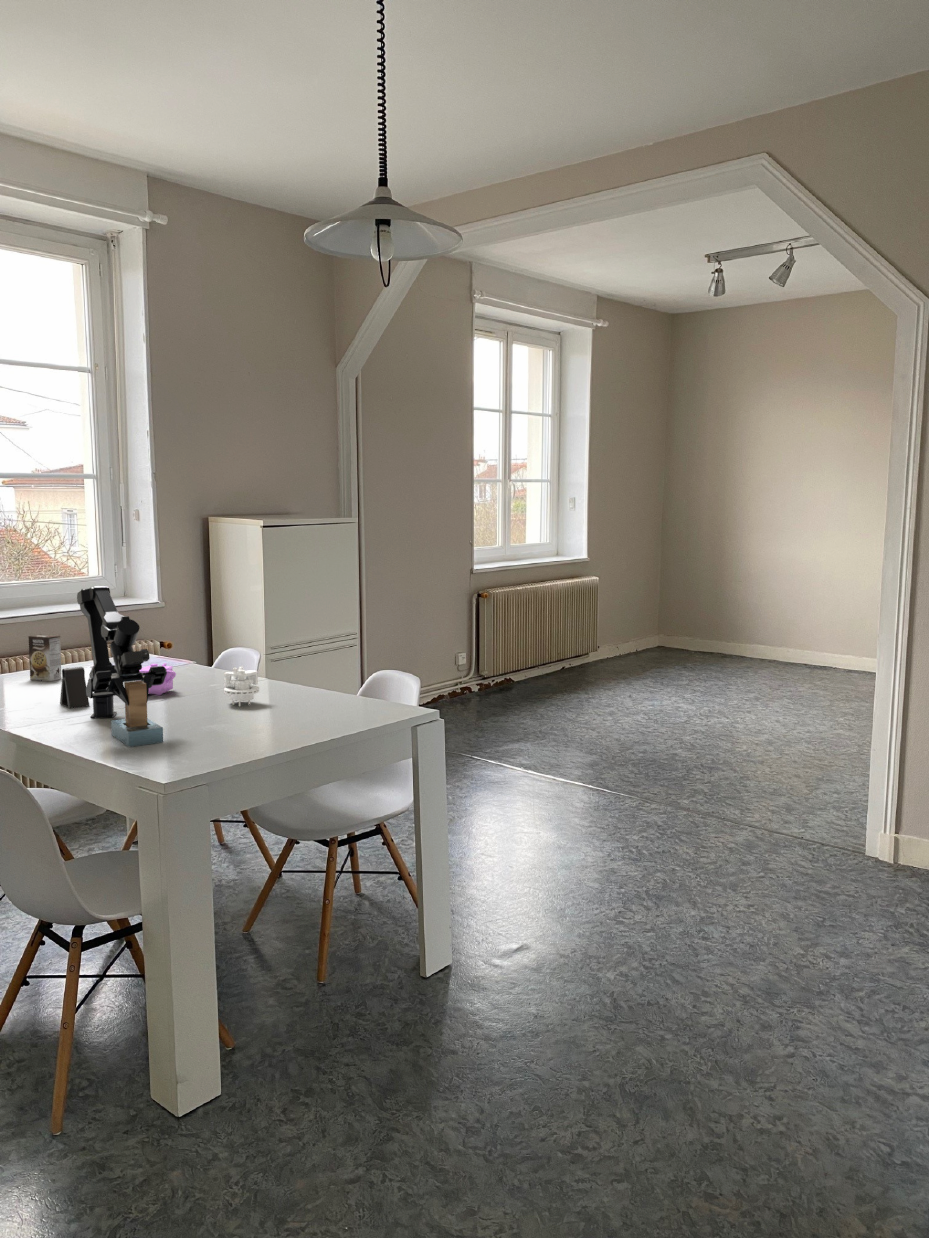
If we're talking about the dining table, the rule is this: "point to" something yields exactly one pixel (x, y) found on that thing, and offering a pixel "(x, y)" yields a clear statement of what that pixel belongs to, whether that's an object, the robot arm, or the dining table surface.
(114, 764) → the dining table surface
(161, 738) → the socket block
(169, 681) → the teapot
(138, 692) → the wooden square peg
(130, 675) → the robot arm
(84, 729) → the dining table surface
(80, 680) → the phone stand
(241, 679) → the mechanical part
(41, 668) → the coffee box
